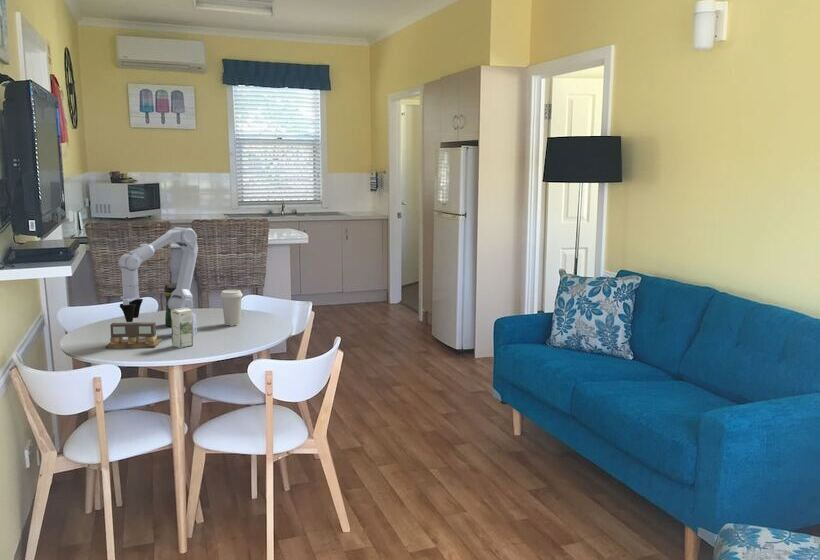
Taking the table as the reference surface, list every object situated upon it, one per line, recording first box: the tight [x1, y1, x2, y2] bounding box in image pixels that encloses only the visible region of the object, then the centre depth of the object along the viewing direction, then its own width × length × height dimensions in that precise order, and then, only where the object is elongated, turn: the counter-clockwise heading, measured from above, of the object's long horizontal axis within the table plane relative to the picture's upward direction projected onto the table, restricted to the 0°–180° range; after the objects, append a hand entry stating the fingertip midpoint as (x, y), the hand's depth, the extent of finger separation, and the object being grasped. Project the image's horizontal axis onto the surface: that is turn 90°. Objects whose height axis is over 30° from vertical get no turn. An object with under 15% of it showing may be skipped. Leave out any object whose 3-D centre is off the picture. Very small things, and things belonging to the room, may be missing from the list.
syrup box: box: [170, 308, 194, 349], centre depth 263 cm, size 6×6×14 cm
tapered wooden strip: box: [110, 321, 157, 338], centre depth 265 cm, size 16×3×5 cm, turn 95°
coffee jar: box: [163, 282, 177, 327], centre depth 299 cm, size 10×8×19 cm
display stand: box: [105, 333, 162, 349], centre depth 265 cm, size 18×10×4 cm, turn 95°
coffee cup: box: [219, 289, 244, 326], centre depth 301 cm, size 10×10×15 cm
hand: (132, 319), depth 266 cm, fingers open, 7 cm apart
